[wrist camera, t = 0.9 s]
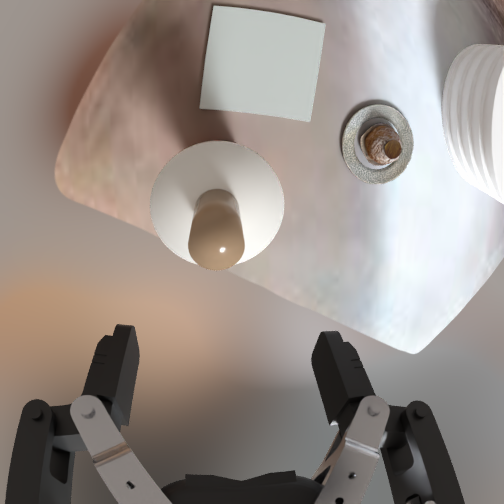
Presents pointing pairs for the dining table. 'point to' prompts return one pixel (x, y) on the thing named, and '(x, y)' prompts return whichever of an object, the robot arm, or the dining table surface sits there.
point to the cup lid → (217, 204)
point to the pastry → (378, 144)
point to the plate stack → (476, 116)
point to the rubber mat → (261, 63)
